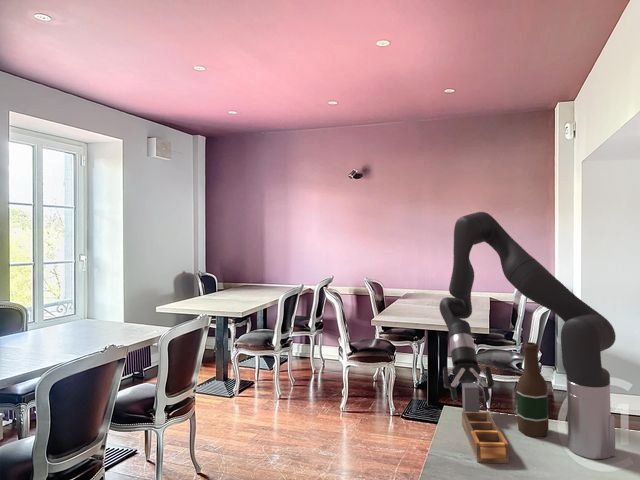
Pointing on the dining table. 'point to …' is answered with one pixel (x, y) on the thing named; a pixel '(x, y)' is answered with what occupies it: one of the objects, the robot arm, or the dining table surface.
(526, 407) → the beer bottle
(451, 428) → the dining table surface
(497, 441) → the bay rack
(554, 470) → the dining table surface
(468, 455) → the dining table surface
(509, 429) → the dining table surface
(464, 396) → the block
